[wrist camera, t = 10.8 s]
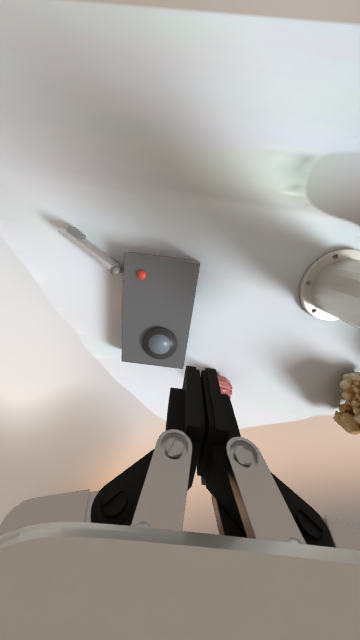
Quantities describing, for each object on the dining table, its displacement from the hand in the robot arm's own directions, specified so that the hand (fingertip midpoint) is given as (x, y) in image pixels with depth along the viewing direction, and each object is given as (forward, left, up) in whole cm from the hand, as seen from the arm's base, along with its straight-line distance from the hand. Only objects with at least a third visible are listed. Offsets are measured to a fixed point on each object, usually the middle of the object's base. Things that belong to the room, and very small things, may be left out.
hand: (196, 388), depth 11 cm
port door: (+16, -5, -27) cm, 32 cm away
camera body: (+5, +5, -27) cm, 28 cm away
